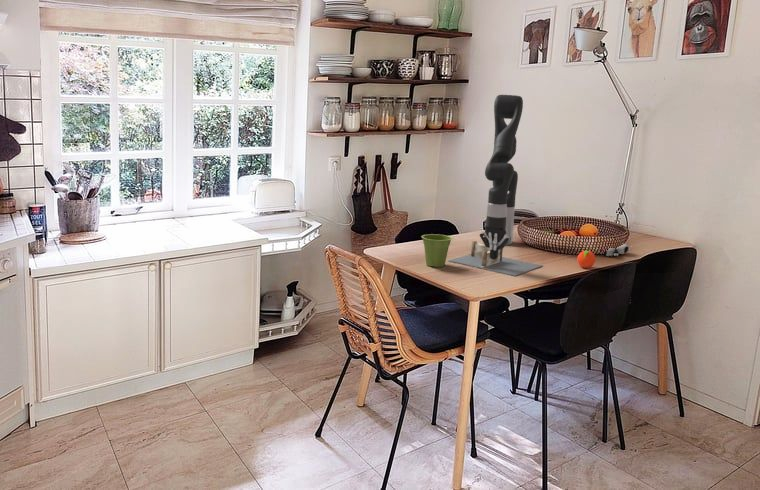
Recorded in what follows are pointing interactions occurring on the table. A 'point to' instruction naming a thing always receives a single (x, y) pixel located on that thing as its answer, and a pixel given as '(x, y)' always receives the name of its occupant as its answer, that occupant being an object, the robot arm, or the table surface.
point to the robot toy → (617, 250)
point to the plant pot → (436, 249)
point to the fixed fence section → (478, 249)
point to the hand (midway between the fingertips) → (493, 259)
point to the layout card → (498, 265)
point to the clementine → (586, 259)
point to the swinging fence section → (487, 259)
